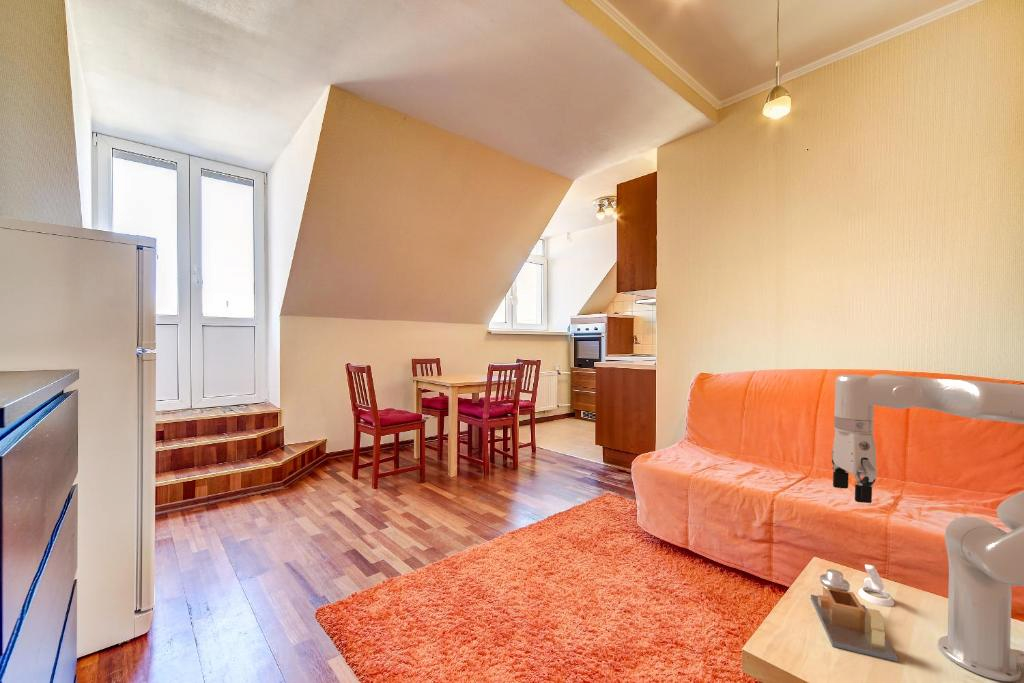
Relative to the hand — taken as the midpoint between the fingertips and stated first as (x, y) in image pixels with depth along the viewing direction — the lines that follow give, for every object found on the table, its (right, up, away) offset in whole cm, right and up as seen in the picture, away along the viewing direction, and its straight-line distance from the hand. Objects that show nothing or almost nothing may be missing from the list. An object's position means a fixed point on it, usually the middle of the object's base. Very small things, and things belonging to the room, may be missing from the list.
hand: (851, 494), depth 105 cm
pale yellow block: (+2, -33, -5) cm, 33 cm away
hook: (+19, -35, +15) cm, 42 cm away
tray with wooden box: (+1, -34, +2) cm, 34 cm away
